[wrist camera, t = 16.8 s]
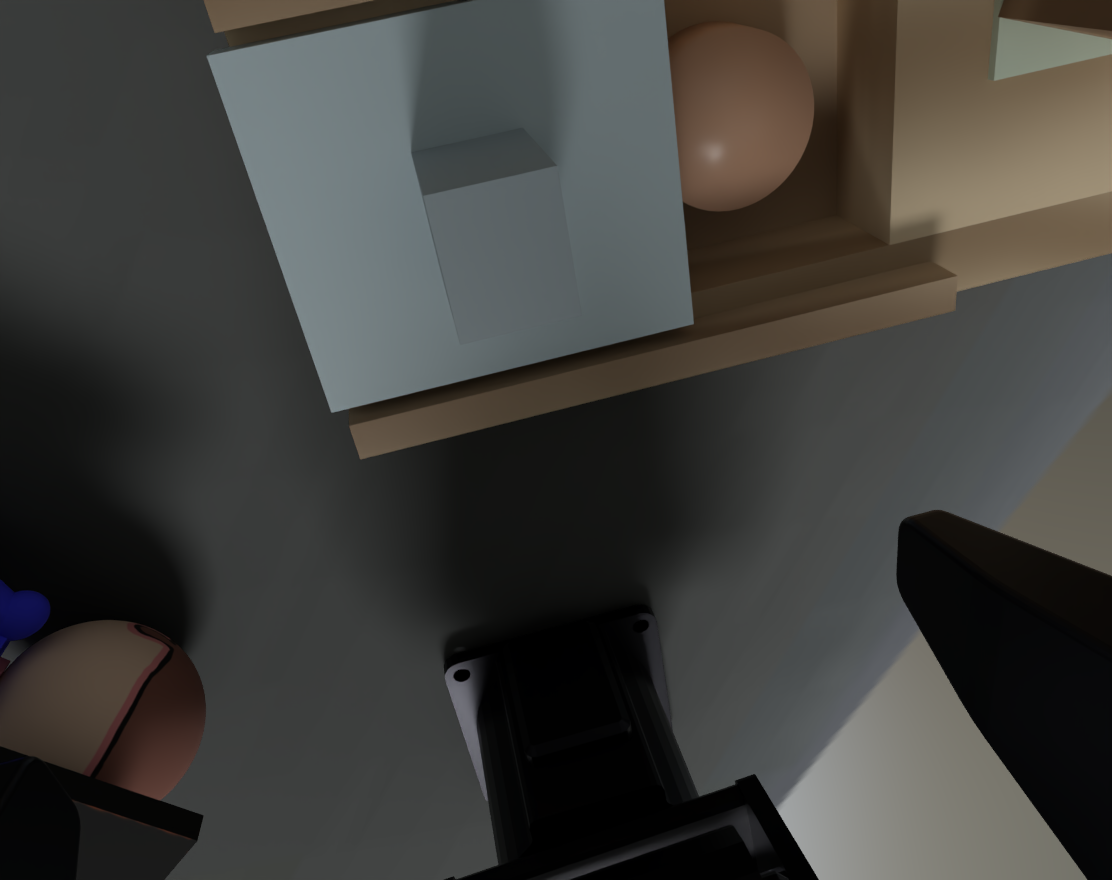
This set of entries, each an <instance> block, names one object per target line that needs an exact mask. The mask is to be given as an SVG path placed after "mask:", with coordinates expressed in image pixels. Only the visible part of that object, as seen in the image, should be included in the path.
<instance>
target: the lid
mask: <svg viewBox="0 0 1112 880" xmlns="http://www.w3.org/2000/svg"><path fill="white" fill-rule="evenodd" d="M207 58H208V61H209V64H210V67H211V70H212V73H213V75H214V78H215V81H216V84H217V87H218V90H219V93H220V95H221V98H222V101H223V104H224V107H225V110H226V113H227V115H228V118H229V121H230V124H231V127H232V130H233V133H234V135H235V138H236V141H237V144H238V147H239V150H240V153H241V155H242V158H243V161H244V164H245V167H246V170H247V173H248V175H249V178H250V181H251V184H252V187H253V190H254V192H255V195H256V198H257V201H258V204H259V207H260V210H261V212H262V215H263V218H264V221H265V224H266V227H267V230H268V232H269V235H270V238H271V241H272V244H273V247H274V250H275V252H276V255H277V258H278V261H279V264H280V267H281V270H282V272H283V275H284V278H285V281H286V284H287V287H288V290H289V292H290V295H291V298H292V301H293V304H294V307H295V310H296V312H297V315H298V318H299V321H300V324H301V327H302V330H303V332H304V335H305V338H306V341H307V344H308V347H309V350H310V352H311V355H312V358H313V361H314V364H315V367H316V370H317V372H318V375H319V378H320V381H321V384H322V387H323V390H324V392H325V395H326V398H327V401H328V404H329V407H330V410H331V412H332V413H333V412H337V411H341V410H345V409H349V408H353V407H358V406H362V405H366V404H370V403H374V402H378V401H382V400H386V399H390V398H394V397H398V396H402V395H406V394H411V393H415V392H419V391H423V390H427V389H431V388H435V387H439V386H443V385H447V384H451V383H455V382H460V381H464V380H468V379H472V378H476V377H480V376H484V375H488V374H492V373H496V372H500V371H504V370H508V369H513V368H517V367H521V366H525V365H529V364H533V363H537V362H541V361H545V360H549V359H553V358H557V357H561V356H566V355H570V354H574V353H578V352H582V351H586V350H590V349H594V348H598V347H602V346H606V345H610V344H614V343H619V342H623V341H627V340H631V339H635V338H639V337H643V336H647V335H651V334H655V333H659V332H663V331H668V330H672V329H676V328H680V327H684V326H688V325H692V324H694V320H693V309H692V298H691V287H690V277H689V266H688V255H687V244H686V233H685V223H684V212H683V201H682V190H681V179H680V168H679V158H678V147H677V136H676V125H675V114H674V104H673V93H672V82H671V71H670V60H669V49H668V39H667V28H666V17H665V6H664V0H455V1H450V2H445V3H441V4H436V5H431V6H426V7H421V8H416V9H411V10H407V11H402V12H397V13H392V14H387V15H382V16H378V17H373V18H368V19H363V20H358V21H353V22H348V23H344V24H339V25H334V26H329V27H324V28H319V29H315V30H310V31H305V32H300V33H295V34H290V35H285V36H281V37H276V38H271V39H266V40H261V41H256V42H252V43H247V44H242V45H237V46H232V47H227V48H222V49H218V50H213V51H212V52H211V53H210V54H208V55H207Z"/></svg>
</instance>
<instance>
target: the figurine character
mask: <svg viewBox="0 0 1112 880" xmlns="http://www.w3.org/2000/svg"><path fill="white" fill-rule="evenodd" d="M49 615H50V604H49V601H48V600H47V598H46V597H45V596H44V595H42V594H41V593H38V592H35V591H29V590H25V591H18V592H14V591H12V590H11V589H10V588H9V587H8V586H7V585H6V584H5V583H4V582H3V581H2V580H1V579H0V764H1V763H4V762H8V761H12V760H15V759H19V758H23V757H26V756H35V757H38V758H39V759H41V760H43V761H44V763H45V764H46V765H47V766H48V768H49V769H50V770H51V772H52V773H53V775H54V776H55V777H56V779H57V780H58V781H59V783H60V784H61V786H62V787H63V788H64V790H65V791H66V792H67V794H68V795H69V796H70V798H71V799H72V801H73V802H74V804H75V805H76V807H77V810H78V813H79V817H80V825H81V831H80V843H79V854H78V865H77V876H76V880H164V879H165V878H166V877H167V876H168V875H169V873H170V872H171V871H172V870H173V869H174V868H175V866H176V865H177V864H178V863H179V862H180V861H181V859H182V858H183V857H184V856H185V855H186V853H187V852H188V851H189V850H190V849H191V848H192V846H193V845H194V844H195V843H196V842H197V840H198V836H199V832H200V828H201V824H202V820H203V816H204V815H201V814H198V813H195V812H192V811H189V810H186V809H183V808H180V807H177V806H174V805H171V804H168V803H165V802H163V801H160V800H161V799H162V798H164V797H165V796H166V795H167V794H168V793H169V792H170V791H171V790H172V789H173V788H174V787H175V785H176V784H177V783H178V782H179V781H180V779H181V778H182V777H183V775H184V774H185V773H186V771H187V769H188V768H189V766H190V765H191V763H192V761H193V759H194V757H195V755H196V753H197V750H198V748H199V745H200V742H201V738H202V735H203V732H204V725H205V717H206V703H205V694H204V690H203V685H202V682H201V679H200V676H199V674H198V672H197V670H196V668H195V666H194V664H193V663H192V661H191V660H190V658H189V657H188V655H187V654H186V653H185V652H184V651H183V650H182V649H181V648H180V647H179V646H178V645H177V644H176V643H175V642H174V641H172V640H171V639H170V638H168V637H167V636H165V635H164V634H162V633H160V632H158V631H156V630H154V629H152V628H150V627H147V626H144V625H141V624H137V623H133V622H128V621H120V620H99V621H91V622H85V623H80V624H76V625H73V626H69V627H67V628H64V629H61V630H59V631H57V632H54V633H52V634H50V635H48V636H47V637H45V638H43V639H41V640H40V641H38V642H37V643H35V644H34V645H32V646H31V647H29V648H28V649H27V650H26V651H25V652H23V653H22V654H21V655H20V656H19V657H17V658H16V659H15V661H14V662H13V663H12V664H11V665H10V666H9V667H8V668H7V666H8V665H9V663H10V661H9V660H7V659H4V658H2V657H1V655H2V653H3V652H4V650H5V649H6V647H7V646H8V644H9V642H10V641H14V640H20V639H23V638H26V637H29V636H31V635H32V634H34V633H36V632H37V631H38V630H39V629H41V628H42V627H43V625H44V624H45V623H46V621H47V619H48V617H49ZM6 668H7V669H6ZM4 671H5V672H4Z"/></svg>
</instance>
